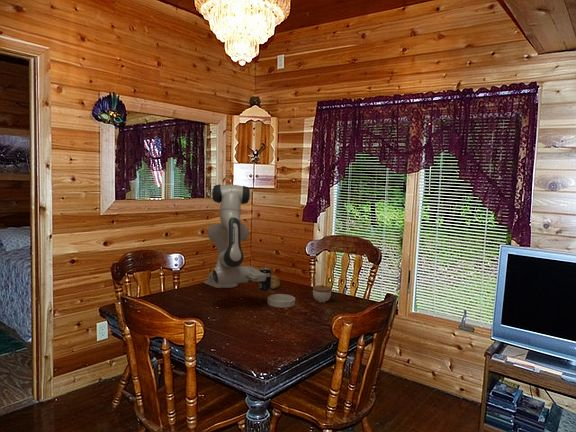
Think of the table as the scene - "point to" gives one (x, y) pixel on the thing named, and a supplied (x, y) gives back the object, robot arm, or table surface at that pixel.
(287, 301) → the pale grey round disc
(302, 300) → the table surface
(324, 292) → the lidded jar
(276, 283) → the croissant
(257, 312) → the table surface
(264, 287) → the beverage can
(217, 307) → the table surface
